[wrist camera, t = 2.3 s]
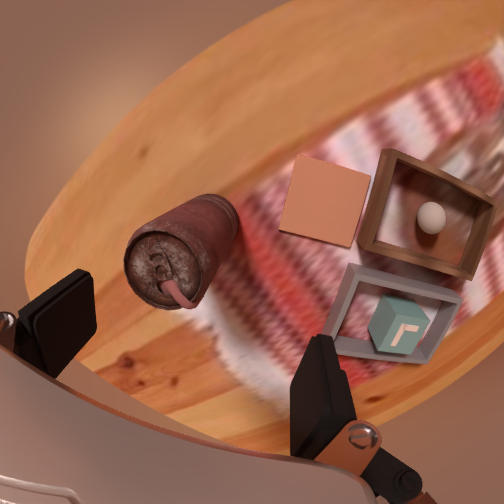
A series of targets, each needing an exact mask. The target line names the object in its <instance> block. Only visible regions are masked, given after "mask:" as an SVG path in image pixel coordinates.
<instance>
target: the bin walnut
mask: <svg viewBox="0 0 504 504" xmlns="http://www.w3.org/2000/svg"><path fill="white" fill-rule="evenodd" d="M396 161H397V162H399V163H402V164H404V165H407V166H409V167H411V168H414V169H416V170H418V171H421V172H423V173H425V174H428V175H430V176H432V177H434V178H436V179H438V180H441V181H443V182H445V183H447V184H449V185H451V186H453V187H455V188H457V189H459V190H461V191H463V192H465V193H467V194H468V195H470V196H472V197H474V198H476V199H478V200H479V201H480V202H479V206H478V210H477V213H476V217H475V220H474V223H473V227H472V230H471V233H470V236H469V239H468V242H467V245H466V248H465V250H464V253H463V256H462V258H461V261H460V264H459V266H457V265H455V264H452V263H449V262H446V261H442V260H439V259H436V258H433V257H430V256H427V255H424V254H421V253H418V252H414V251H411V250H408V249H405V248H401V247H398V246H395V245H391V244H388V243H385V242H381V241H378V240H374V238H375V235H376V232H377V228H378V225H379V222H380V219H381V216H382V212H383V209H384V206H385V202H386V199H387V195H388V191H389V188H390V184H391V180H392V176H393V172H394V168H395V164H396ZM497 205H498V201H496V200H494V199H493V198H491V197H490V196H488V195H486V194H485V193H483V192H481V191H479V190H478V189H476V188H474V187H472V186H471V185H469V184H467V183H465V182H463V181H461V180H460V179H458V178H456V177H454V176H452V175H450V174H448V173H446V172H444V171H442V170H440V169H438V168H436V167H434V166H432V165H429V164H427V163H425V162H423V161H421V160H418V159H416V158H414V157H412V156H409V155H407V154H405V153H402V152H400V151H397V150H395V149H382V150H381V154H380V158H379V162H378V167H377V171H376V175H375V178H374V182H373V186H372V190H371V193H370V197H369V200H368V204H367V207H366V211H365V214H364V218H363V221H362V224H361V227H360V230H359V234H358V237H357V240H356V241H357V242H358V244H359V245H360V246H361V247H362V248H363V249H364V250H367V251H370V252H374V253H378V254H381V255H385V256H389V257H392V258H396V259H399V260H403V261H406V262H410V263H413V264H417V265H420V266H423V267H427V268H430V269H434V270H437V271H440V272H444V273H447V274H450V275H453V276H457V277H460V278H463V279H466V280H469V281H472V279H473V277H474V274H475V272H476V269H477V267H478V264H479V262H480V259H481V256H482V254H483V251H484V248H485V245H486V242H487V239H488V236H489V233H490V230H491V227H492V223H493V220H494V216H495V213H496V209H497Z"/></svg>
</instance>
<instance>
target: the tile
mask: <svg viewBox="0 0 504 504" xmlns="http://www.w3.org/2000/svg"><path fill="white" fill-rule="evenodd" d="M370 178H371V176H370V175H367V174H364V173H361V172H358V171H355V170H351V169H348V168H345V167H342V166H339V165H335V164H332V163H328V162H325V161H321V160H318V159H314V158H311V157H307V156H303V155H299V154H297V155H296V159H295V163H294V167H293V172H292V176H291V180H290V184H289V188H288V192H287V196H286V200H285V204H284V208H283V212H282V216H281V220H280V224H279V228H278V229H279V230H283V231H287V232H291V233H295V234H299V235H303V236H307V237H311V238H315V239H319V240H323V241H327V242H331V243H335V244H339V245H342V246H346V247H350V246H351V243H352V239H353V236H354V233H355V230H356V227H357V224H358V220H359V217H360V214H361V210H362V207H363V203H364V200H365V196H366V193H367V189H368V185H369V182H370Z"/></svg>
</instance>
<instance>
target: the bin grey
mask: <svg viewBox="0 0 504 504" xmlns="http://www.w3.org/2000/svg"><path fill="white" fill-rule="evenodd" d="M359 281H362V282H366V283H371V284H375V285H379V286H383V287H388V288H392V289H396V290H401V291H405V292H409V293H413V294H418V295H422V296H426V297H431V298H435V299H439V300H443V303H442V305H441V307H440V309H439V311H438V313H437V315H436V317H435V319H434V321H433V323H432V325H431V326H430V328H429V330H428V332H427V334H426V336H425V337H424V339H423V341H422V343H421V344H420V346H419V347H415V349H414V350H413V352H412V354H411V355H410V354H401V353H392V352H384V351H378V350H377V348H376V345H375V343H374V341H367V340H361V339H355V338H349V337H343V336H337V335H336V334H337V332H338V330H339V328H340V326H341V323H342V321H343V319H344V316H345V314H346V312H347V309H348V307H349V305H350V302H351V300H352V297H353V295H354V292H355V290H356V287H357V285H358V282H359ZM462 301H463V299H462V298H461V297H460V296H459V295H458V294H457V293H456V292H455V291H454V290H453V289H449V288H445V287H442V286H438V285H434V284H430V283H426V282H423V281H419V280H415V279H411V278H407V277H404V276H400V275H396V274H392V273H388V272H384V271H380V270H376V269H372V268H368V267H365V266H361V265H357V264H353V263H349V264H348V266H347V269H346V272H345V275H344V277H343V280H342V283H341V286H340V288H339V291H338V294H337V296H336V299H335V301H334V304H333V306H332V309H331V311H330V314H329V316H328V319H327V321H326V324H325V326H324V328H323V331H322V333H321V334H324V335H329V336H332V337H333V341H334V345H335V348H336V352H337V354H339V355H346V356H353V357H360V358H368V359H377V360H385V361H395V362H406V363H418V364H428V362H429V361H430V359H431V358H432V356H433V354H434V353H435V351H436V349H437V348H438V346H439V344H440V343H441V341H442V339H443V338H444V336H445V334H446V332H447V330H448V329H449V327H450V325H451V323H452V321H453V319H454V317H455V316H456V314H457V312H458V310H459V308H460V306H461V303H462Z"/></svg>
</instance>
